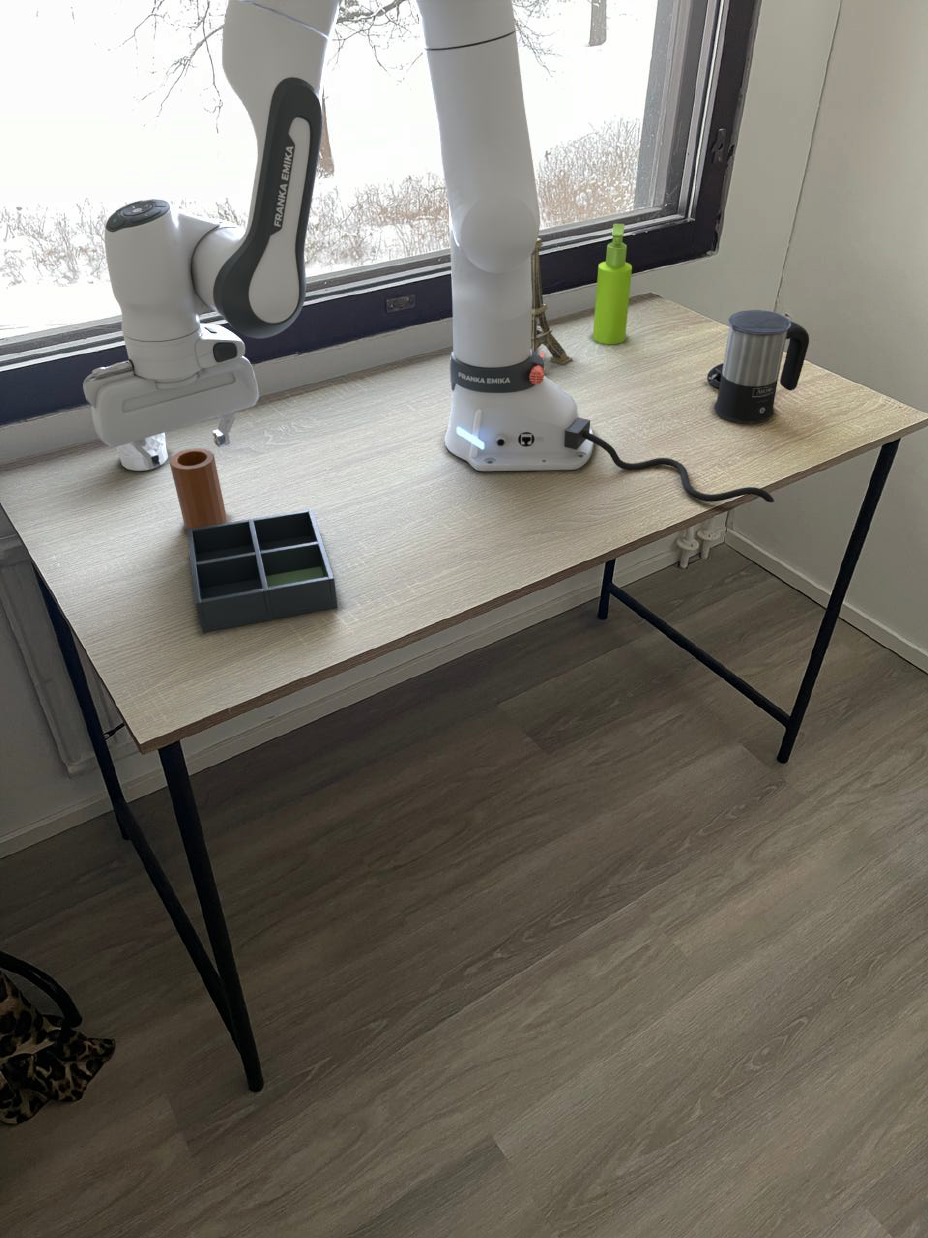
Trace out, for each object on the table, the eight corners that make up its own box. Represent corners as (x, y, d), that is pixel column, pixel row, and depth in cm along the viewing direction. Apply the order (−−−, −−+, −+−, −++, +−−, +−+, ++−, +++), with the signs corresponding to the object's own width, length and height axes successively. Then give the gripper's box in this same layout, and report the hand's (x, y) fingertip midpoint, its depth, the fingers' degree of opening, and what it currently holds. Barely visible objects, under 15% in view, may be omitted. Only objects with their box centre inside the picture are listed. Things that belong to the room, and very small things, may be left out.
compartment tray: (316, 536, 123) (312, 508, 120) (337, 607, 111) (334, 578, 109) (193, 557, 120) (186, 529, 117) (202, 632, 108) (195, 603, 105)
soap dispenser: (591, 345, 170) (600, 231, 158) (593, 330, 176) (602, 219, 163) (624, 347, 169) (635, 232, 157) (625, 332, 175) (636, 220, 162)
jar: (233, 515, 127) (220, 449, 121) (218, 537, 123) (203, 470, 117) (195, 511, 128) (180, 446, 122) (178, 533, 124) (162, 467, 118)
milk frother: (747, 430, 144) (765, 337, 135) (669, 396, 154) (681, 307, 144) (803, 404, 151) (824, 313, 142) (725, 372, 161) (740, 285, 151)
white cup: (143, 478, 135) (127, 415, 129) (106, 464, 139) (88, 402, 132) (183, 455, 141) (169, 393, 134) (146, 442, 144) (130, 381, 138)
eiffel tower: (572, 359, 166) (581, 210, 150) (535, 379, 160) (540, 226, 144) (525, 344, 171) (529, 199, 155) (488, 362, 165) (488, 213, 149)
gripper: (88, 382, 104) (117, 490, 112) (256, 339, 113) (270, 442, 122) (69, 363, 108) (99, 469, 116) (233, 323, 117) (248, 423, 126)
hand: (188, 455), depth 119 cm, fingers open, 8 cm apart
